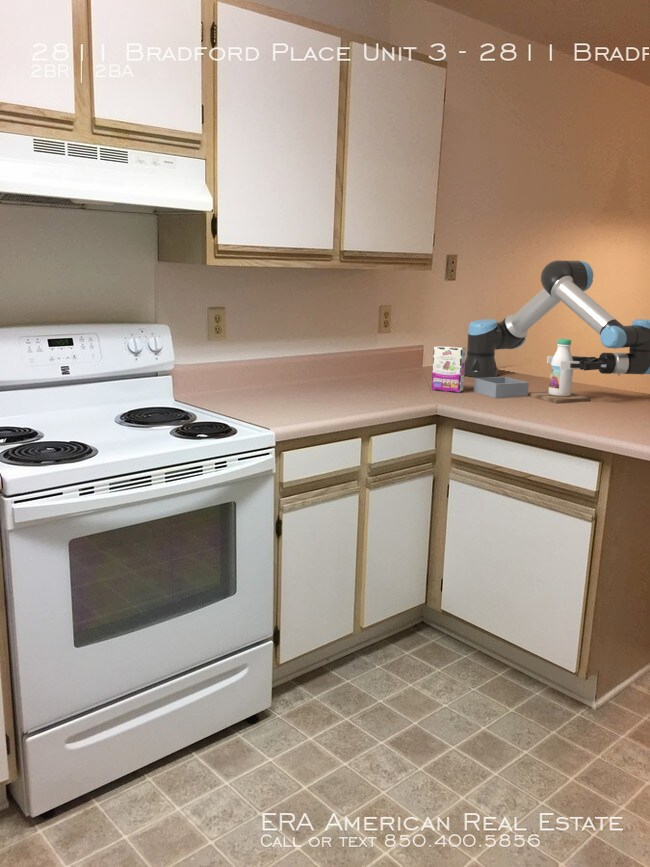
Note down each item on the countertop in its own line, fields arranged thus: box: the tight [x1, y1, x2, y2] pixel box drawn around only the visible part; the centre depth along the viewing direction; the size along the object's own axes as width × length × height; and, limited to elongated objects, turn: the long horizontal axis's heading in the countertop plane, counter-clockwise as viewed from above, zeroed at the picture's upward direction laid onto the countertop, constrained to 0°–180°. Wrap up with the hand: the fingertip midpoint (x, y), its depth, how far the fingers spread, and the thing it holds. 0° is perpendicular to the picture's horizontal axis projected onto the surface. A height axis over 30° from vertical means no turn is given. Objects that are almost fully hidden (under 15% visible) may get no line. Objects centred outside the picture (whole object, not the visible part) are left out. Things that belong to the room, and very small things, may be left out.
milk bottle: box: [548, 338, 574, 396], centre depth 260 cm, size 8×8×20 cm
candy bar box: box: [431, 345, 467, 394], centre depth 271 cm, size 11×5×16 cm, turn 62°
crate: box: [473, 376, 530, 399], centre depth 268 cm, size 14×14×5 cm
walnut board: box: [528, 390, 591, 404], centre depth 262 cm, size 15×15×1 cm
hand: (553, 362), depth 259 cm, fingers open, 13 cm apart
